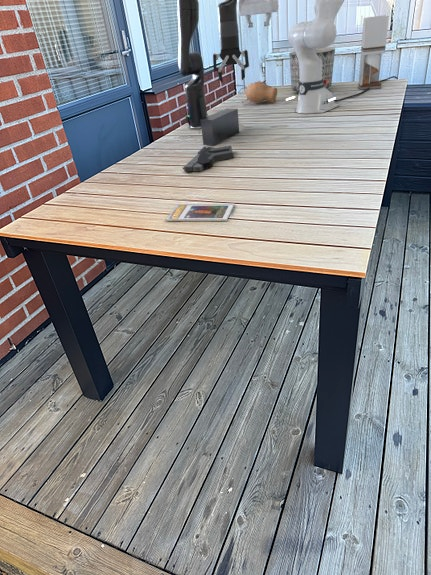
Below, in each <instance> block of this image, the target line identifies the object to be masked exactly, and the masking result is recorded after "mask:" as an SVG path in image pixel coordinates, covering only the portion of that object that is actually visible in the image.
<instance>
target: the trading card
mask: <svg viewBox="0 0 431 575" xmlns="http://www.w3.org/2000/svg"><path fill="white" fill-rule="evenodd" d="M234 207H235V203H176V206H175V207H173V209H172V211H171V212H170V213H169V214H168V216H167V218H166V221H167V222H227V221H228V220H229V217H230V216H231V214H232V211H233V209H234Z"/></svg>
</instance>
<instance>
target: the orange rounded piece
mask: <svg viewBox="0 0 431 575" xmlns="http://www.w3.org/2000/svg"><path fill="white" fill-rule="evenodd" d="M266 81H267V80H266V79H265V80H263V81H260V80H257V81H256V82H251V83H249V84H248V85H247V86H245V85H243V84H239V83H237V84H235V85H234V86H235V87H241V90H242V89H244V88H245V97H246V100H242V101H241V103H242V104H243V105H244V106H246V104H245V103H244V102H247V101H249V102H251V103H253V104H261V103H264V102H265V101H268V102H269V103H275V102H276V99H277V96H278V88H277V87H272V86H270V85H268V84H267V82H266ZM241 90H239V91H238V92H237V94H240V93H241Z"/></svg>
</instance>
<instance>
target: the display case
mask: <svg viewBox="0 0 431 575" xmlns="http://www.w3.org/2000/svg"><path fill="white" fill-rule="evenodd" d="M362 21H363V22H362V33H361V35H362V36H361V45H360V46H361V48H360V59H359V60H360V61H359V74H358V88H359V90H360V91H364V90H366V89H368V88H370V89H369V90H373V89H382V86H383V85H382V82H379V81H380V75H381V64H382V55H383V54H385V53H386V46H387V37H388V36H387V35H388V27H389V26H388V25H389V15H386V14H385V15H375V16H368V17H363V20H362Z"/></svg>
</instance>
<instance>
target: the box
mask: <svg viewBox="0 0 431 575" xmlns="http://www.w3.org/2000/svg"><path fill="white" fill-rule="evenodd" d="M200 122H201V129H200V130H201V136H202V137H201V138H202V145H203V146H212V147H213V146H217V145H219V144H221V143H222V142H224V141H227V140H229V139H230V138H232V137H234V136H236V135H238V134H240V123H239V122H240V121H239V109H238V108H224V109H222V110H220V111H218V112H215V113H213V114H210V115H208V117H206V118H203V119H201V120H200Z"/></svg>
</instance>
